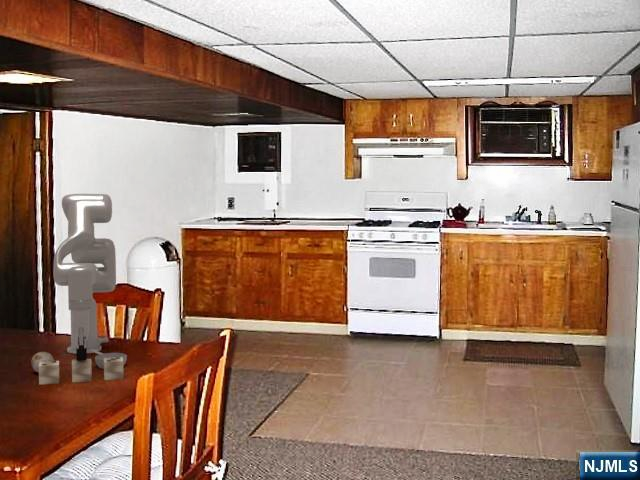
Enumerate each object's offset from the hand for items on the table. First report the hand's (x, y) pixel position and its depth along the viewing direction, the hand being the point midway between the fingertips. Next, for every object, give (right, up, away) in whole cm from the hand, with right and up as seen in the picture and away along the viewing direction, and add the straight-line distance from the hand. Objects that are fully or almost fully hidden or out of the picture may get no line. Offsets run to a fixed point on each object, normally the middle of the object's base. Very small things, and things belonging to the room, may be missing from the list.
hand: (81, 359), depth 250 cm
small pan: (+2, -5, +20) cm, 21 cm away
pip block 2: (+10, -6, +3) cm, 12 cm away
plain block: (0, -6, 0) cm, 7 cm away
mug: (-14, -6, +6) cm, 16 cm away
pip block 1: (-10, -7, -3) cm, 12 cm away
